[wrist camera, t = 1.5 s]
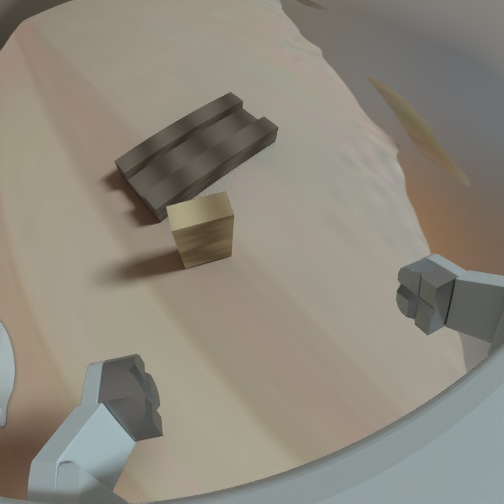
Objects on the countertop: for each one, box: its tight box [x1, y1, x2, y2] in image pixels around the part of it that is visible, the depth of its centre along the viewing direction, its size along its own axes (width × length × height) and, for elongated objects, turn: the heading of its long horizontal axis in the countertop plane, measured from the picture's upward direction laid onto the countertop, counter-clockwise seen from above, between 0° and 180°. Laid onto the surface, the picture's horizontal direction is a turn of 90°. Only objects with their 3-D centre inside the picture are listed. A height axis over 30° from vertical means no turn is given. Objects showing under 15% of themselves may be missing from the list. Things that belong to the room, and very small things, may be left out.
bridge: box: [115, 92, 278, 222], centre depth 39 cm, size 20×10×3 cm, turn 133°
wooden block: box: [166, 191, 234, 269], centre depth 31 cm, size 6×2×10 cm, turn 108°
